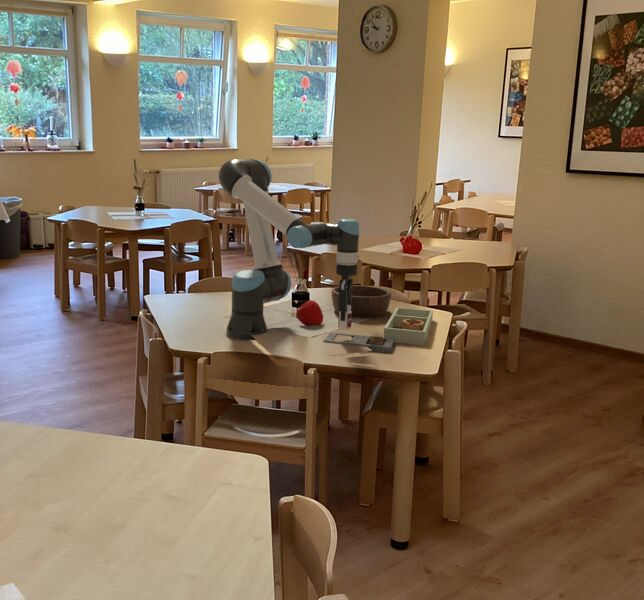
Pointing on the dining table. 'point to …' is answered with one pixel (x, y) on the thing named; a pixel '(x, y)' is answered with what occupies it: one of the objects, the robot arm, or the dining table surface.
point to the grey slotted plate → (363, 342)
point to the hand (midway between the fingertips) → (344, 327)
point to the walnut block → (376, 339)
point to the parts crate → (408, 335)
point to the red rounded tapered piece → (310, 313)
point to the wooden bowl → (365, 301)
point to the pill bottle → (349, 317)
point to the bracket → (413, 325)
